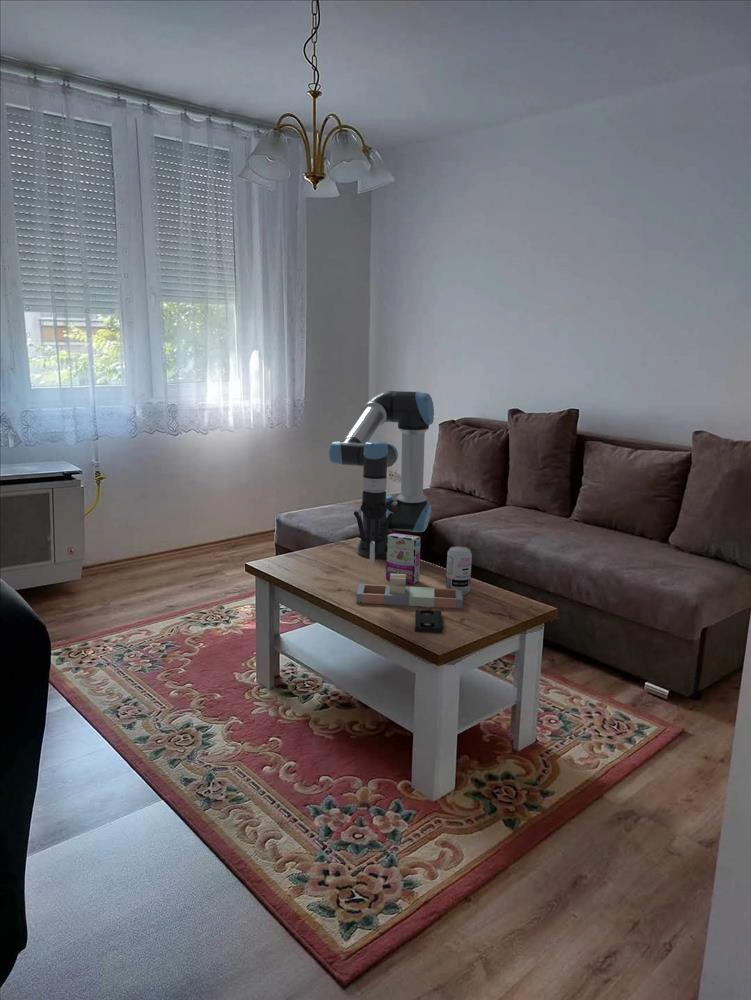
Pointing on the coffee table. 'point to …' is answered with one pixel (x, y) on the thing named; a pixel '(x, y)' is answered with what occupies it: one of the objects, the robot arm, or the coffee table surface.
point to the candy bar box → (403, 556)
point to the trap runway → (410, 596)
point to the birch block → (397, 583)
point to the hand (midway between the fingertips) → (372, 561)
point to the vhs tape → (428, 621)
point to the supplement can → (459, 569)
